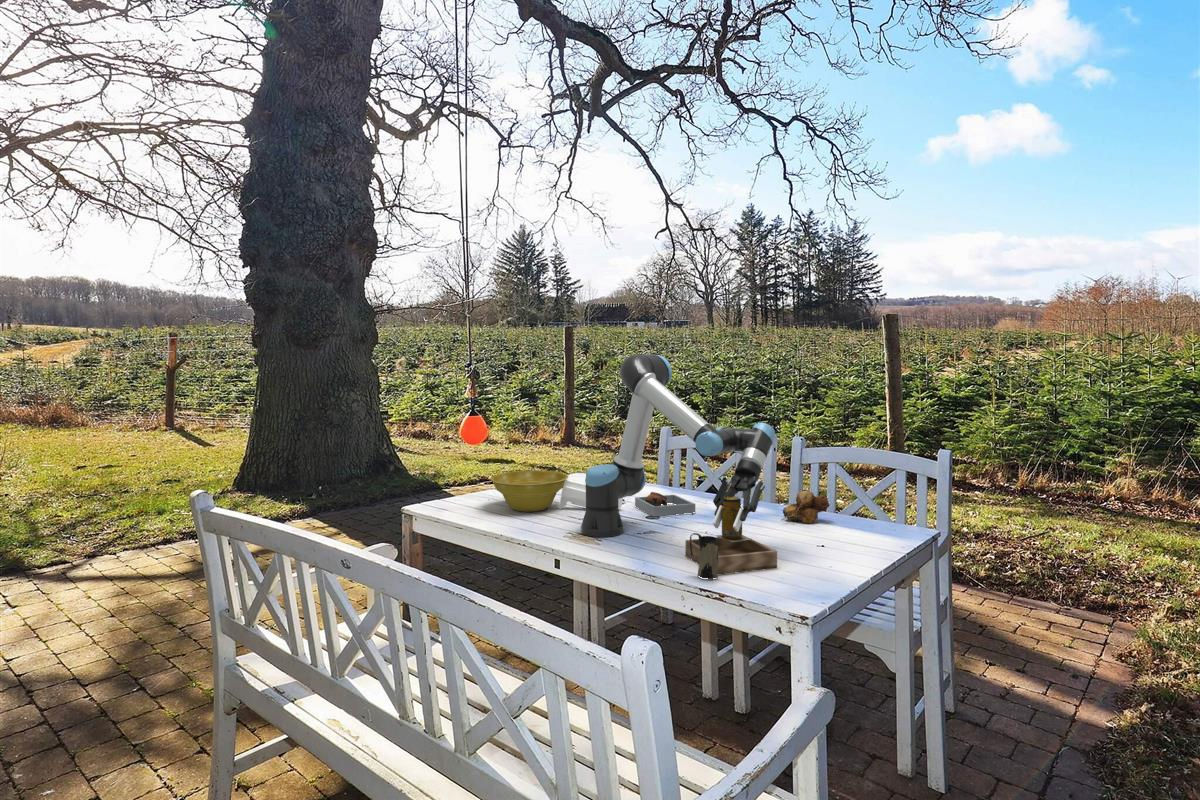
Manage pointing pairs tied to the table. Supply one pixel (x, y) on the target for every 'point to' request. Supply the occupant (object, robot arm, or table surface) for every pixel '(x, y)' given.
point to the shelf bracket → (576, 494)
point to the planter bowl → (529, 488)
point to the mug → (707, 556)
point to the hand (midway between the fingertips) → (725, 527)
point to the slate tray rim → (679, 508)
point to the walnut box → (737, 555)
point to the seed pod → (806, 507)
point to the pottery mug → (656, 499)
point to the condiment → (731, 520)
